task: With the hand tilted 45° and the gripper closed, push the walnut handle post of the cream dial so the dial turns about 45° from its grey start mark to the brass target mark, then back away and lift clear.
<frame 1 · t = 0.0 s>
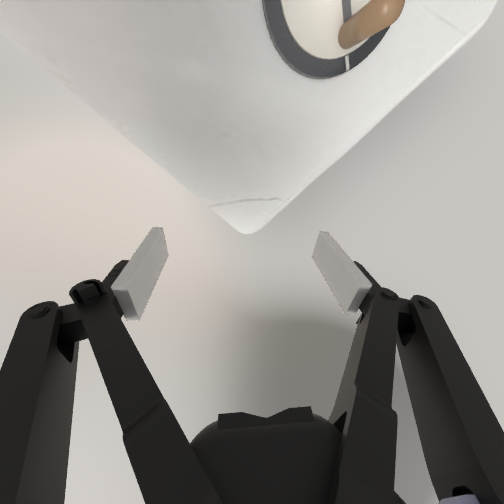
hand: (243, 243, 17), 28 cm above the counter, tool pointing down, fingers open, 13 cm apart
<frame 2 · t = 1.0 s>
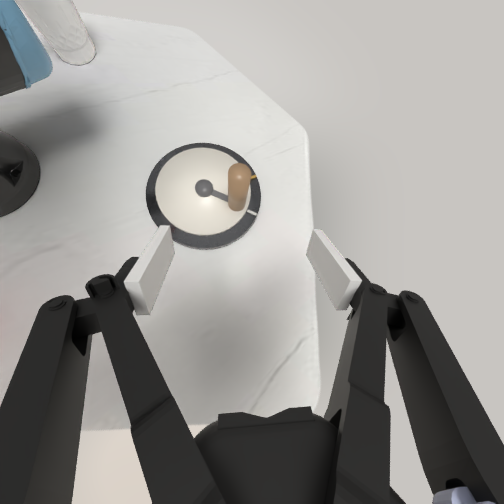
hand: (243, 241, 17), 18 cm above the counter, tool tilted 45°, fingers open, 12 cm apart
dial: (201, 176, 30), point 7 cm above the counter, hinge at 0.0°
dial base: (206, 196, 36), on the counter
white cup: (78, 52, 39), on the counter
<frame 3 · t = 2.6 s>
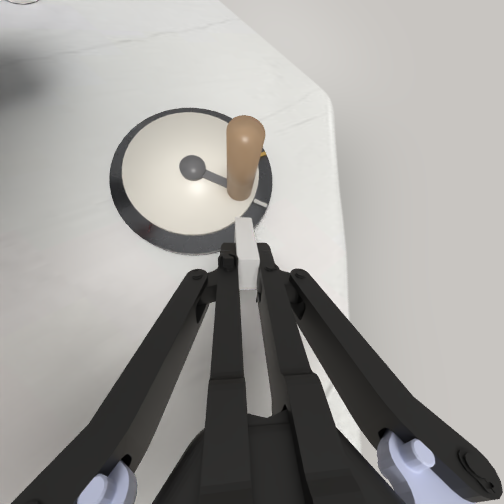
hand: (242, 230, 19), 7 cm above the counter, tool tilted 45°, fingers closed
dial: (186, 146, 20), point 7 cm above the counter, hinge at 0.0°
dial base: (196, 181, 26), on the counter
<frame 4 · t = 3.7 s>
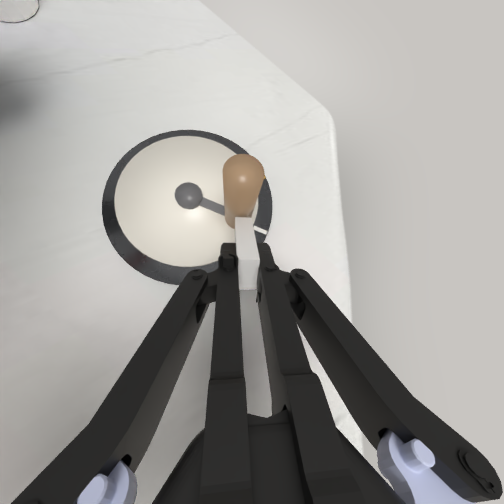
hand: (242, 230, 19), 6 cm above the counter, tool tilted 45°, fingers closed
dial: (181, 178, 19), point 7 cm above the counter, hinge at 0.3°, touching gripper
dial base: (193, 206, 25), on the counter
white cup: (14, 6, 28), on the counter
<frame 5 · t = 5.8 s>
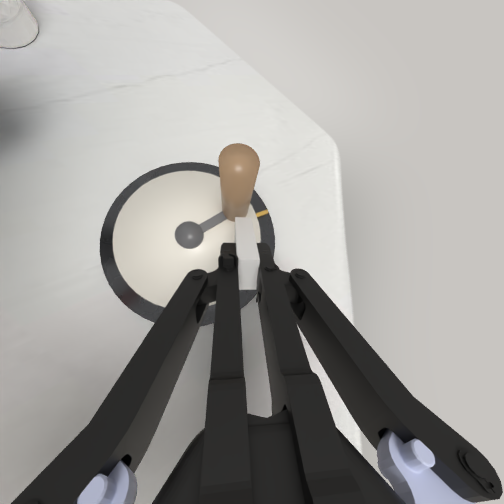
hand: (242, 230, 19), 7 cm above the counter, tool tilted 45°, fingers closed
dial: (181, 224, 18), point 7 cm above the counter, hinge at 56.3°
dial base: (194, 241, 25), on the counter
white cup: (13, 31, 27), on the counter
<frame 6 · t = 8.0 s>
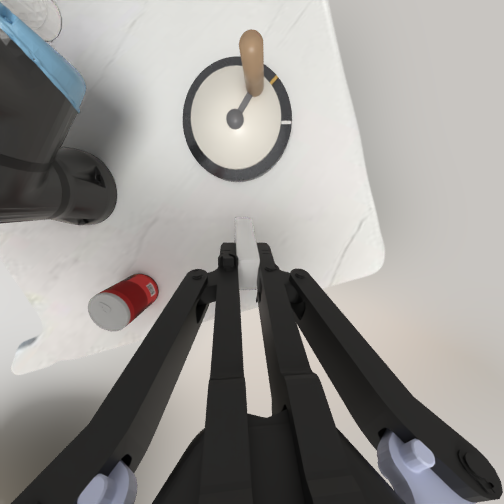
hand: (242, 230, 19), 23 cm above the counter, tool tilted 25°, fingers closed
dial: (231, 109, 31), point 7 cm above the counter, hinge at 56.3°
dial base: (237, 126, 37), on the counter
white cup: (45, 19, 35), on the counter
canned food: (144, 288, 47), on the counter
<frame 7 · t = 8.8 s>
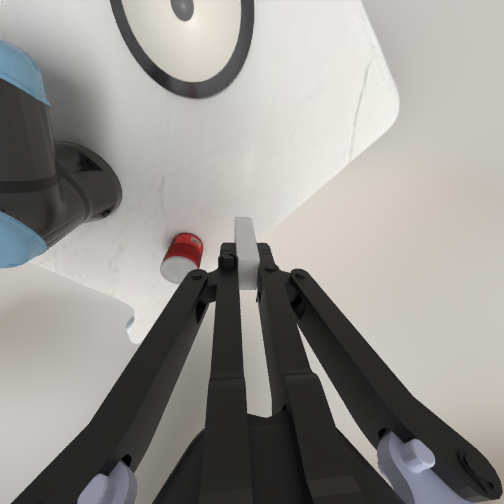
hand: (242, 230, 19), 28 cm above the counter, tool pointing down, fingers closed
dial base: (186, 13, 29), on the counter
canned food: (188, 244, 52), on the counter
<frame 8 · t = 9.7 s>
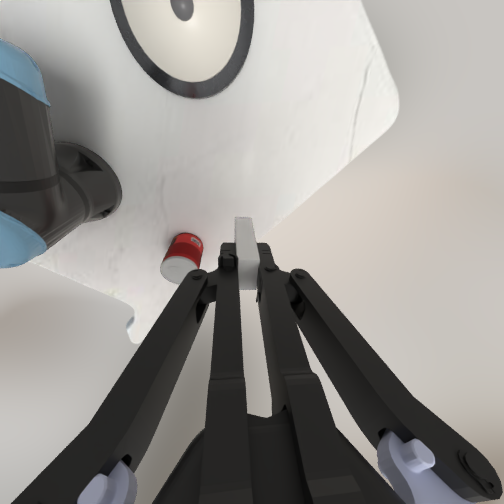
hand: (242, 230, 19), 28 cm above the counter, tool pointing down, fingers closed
dial base: (186, 13, 29), on the counter
canned food: (188, 244, 52), on the counter
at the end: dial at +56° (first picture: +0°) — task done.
